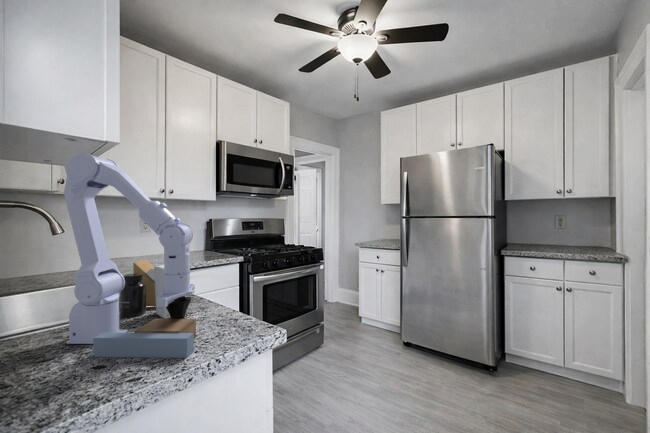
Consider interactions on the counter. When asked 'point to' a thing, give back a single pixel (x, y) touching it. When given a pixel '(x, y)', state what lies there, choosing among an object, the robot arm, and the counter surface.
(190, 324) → the walnut block
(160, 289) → the skincare box
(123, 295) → the supplement bottle
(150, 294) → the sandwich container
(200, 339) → the counter surface
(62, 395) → the counter surface
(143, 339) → the slate block
